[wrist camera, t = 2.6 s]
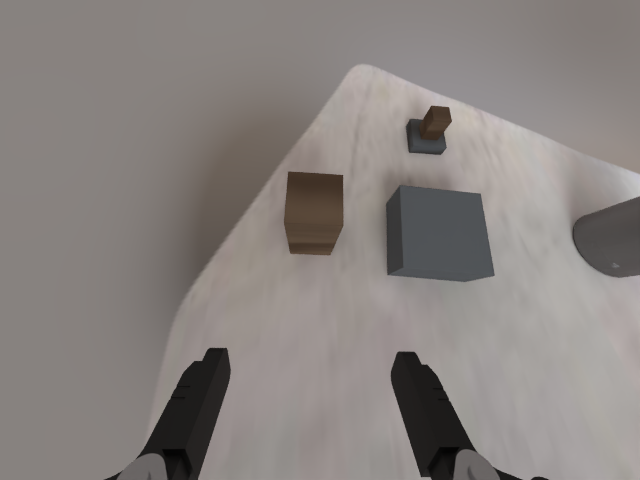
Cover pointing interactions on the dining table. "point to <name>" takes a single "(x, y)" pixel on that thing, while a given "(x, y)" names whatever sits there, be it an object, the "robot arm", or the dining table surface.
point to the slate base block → (437, 235)
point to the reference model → (429, 131)
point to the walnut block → (313, 212)
